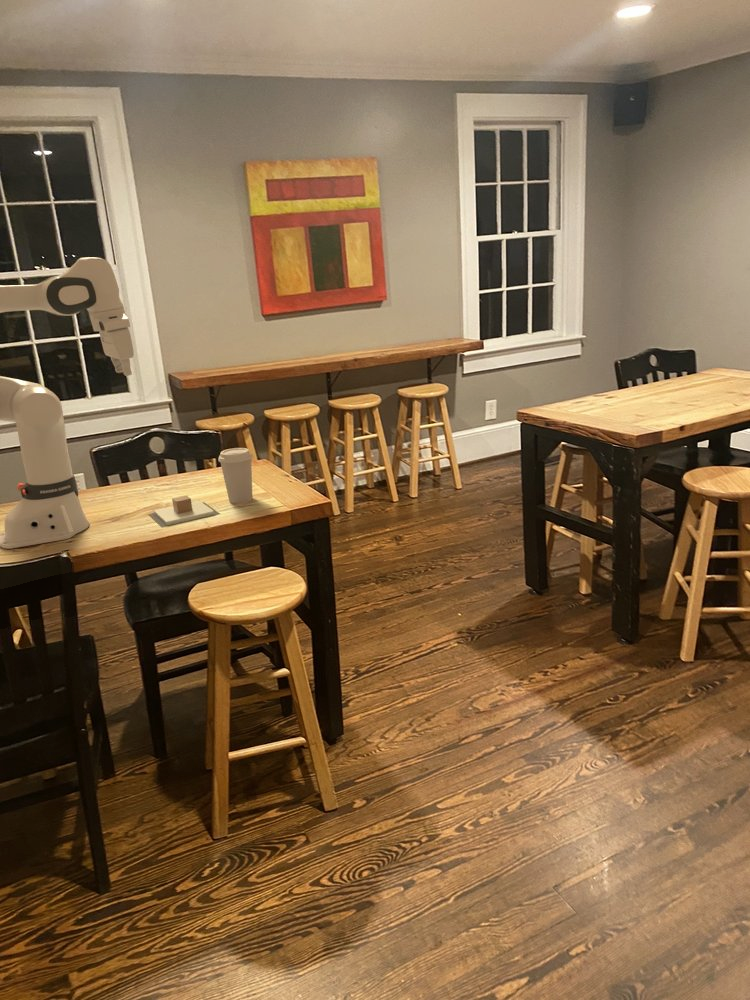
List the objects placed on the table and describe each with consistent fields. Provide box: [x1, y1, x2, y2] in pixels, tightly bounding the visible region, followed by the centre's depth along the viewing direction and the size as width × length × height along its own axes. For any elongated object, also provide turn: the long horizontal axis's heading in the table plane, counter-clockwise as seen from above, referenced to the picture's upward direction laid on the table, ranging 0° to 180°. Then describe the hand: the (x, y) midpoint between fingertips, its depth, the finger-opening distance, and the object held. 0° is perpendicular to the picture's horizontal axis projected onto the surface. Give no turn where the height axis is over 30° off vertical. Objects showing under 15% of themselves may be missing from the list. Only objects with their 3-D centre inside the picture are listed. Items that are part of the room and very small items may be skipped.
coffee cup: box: [218, 447, 254, 505], centre depth 205 cm, size 10×10×15 cm
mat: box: [148, 501, 221, 528], centre depth 198 cm, size 16×14×1 cm
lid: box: [152, 494, 215, 526], centre depth 198 cm, size 13×13×4 cm
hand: (124, 373), depth 193 cm, fingers open, 8 cm apart
